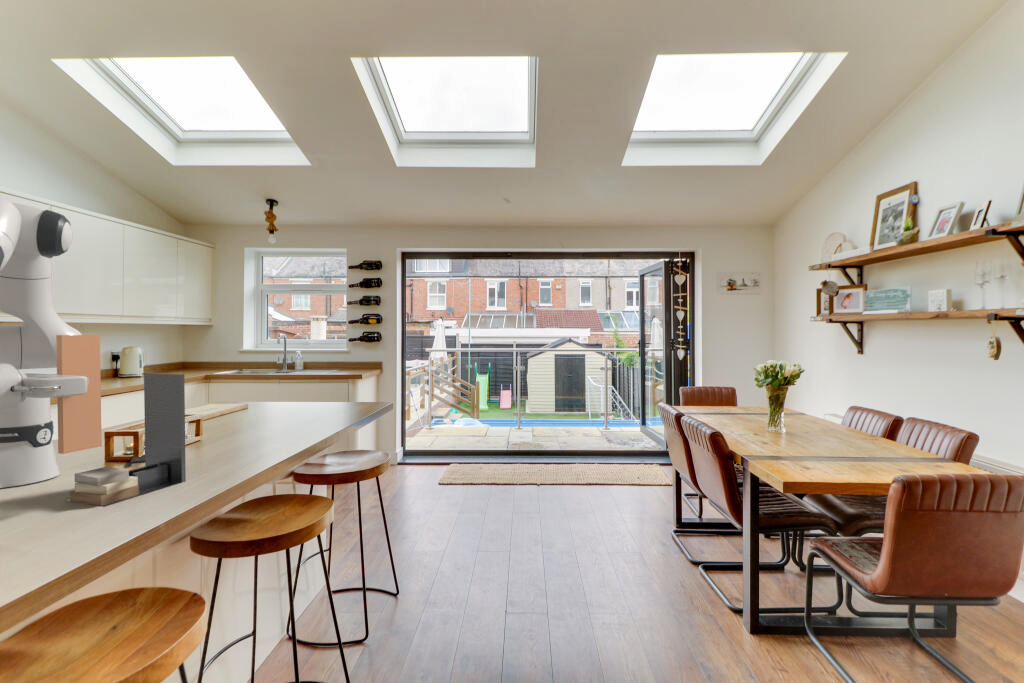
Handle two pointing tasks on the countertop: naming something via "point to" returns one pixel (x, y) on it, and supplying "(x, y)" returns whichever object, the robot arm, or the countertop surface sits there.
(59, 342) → the sheet
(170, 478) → the rack
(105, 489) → the offcut stack
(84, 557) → the countertop surface
